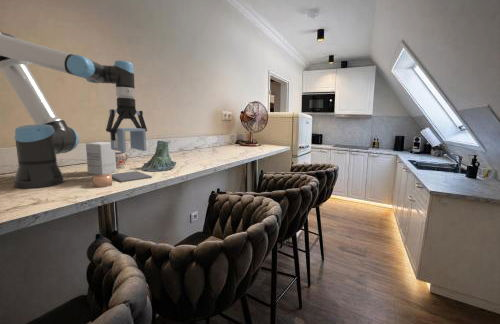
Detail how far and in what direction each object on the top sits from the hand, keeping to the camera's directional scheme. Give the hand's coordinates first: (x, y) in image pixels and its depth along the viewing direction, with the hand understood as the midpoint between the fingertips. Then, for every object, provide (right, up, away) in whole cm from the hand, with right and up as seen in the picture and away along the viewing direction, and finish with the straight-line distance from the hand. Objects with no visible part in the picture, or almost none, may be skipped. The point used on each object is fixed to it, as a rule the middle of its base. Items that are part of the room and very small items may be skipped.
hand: (128, 147), depth 114 cm
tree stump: (+5, -11, +26) cm, 28 cm away
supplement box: (-17, -12, +9) cm, 23 cm away
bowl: (-4, -16, -13) cm, 21 cm away
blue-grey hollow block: (0, -1, 0) cm, 1 cm away
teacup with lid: (-18, -10, +25) cm, 32 cm away
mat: (-1, -14, +2) cm, 14 cm away
